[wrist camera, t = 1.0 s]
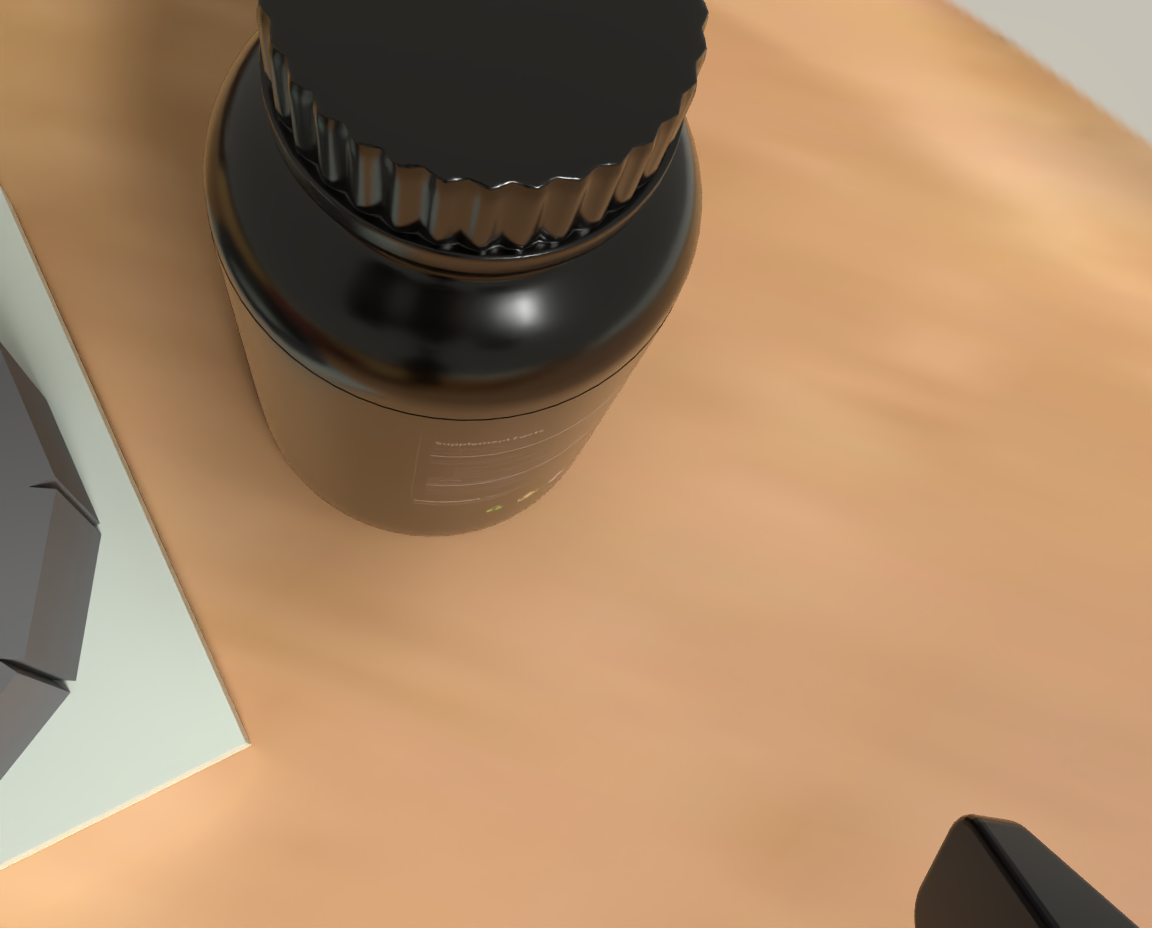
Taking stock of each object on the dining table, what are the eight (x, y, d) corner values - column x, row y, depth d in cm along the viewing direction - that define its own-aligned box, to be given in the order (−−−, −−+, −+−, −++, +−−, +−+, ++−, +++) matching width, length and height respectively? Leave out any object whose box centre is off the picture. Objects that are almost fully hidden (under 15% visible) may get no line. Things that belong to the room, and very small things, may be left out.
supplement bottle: (197, 323, 22) (20, -179, 11) (486, 191, 24) (589, -344, 13) (366, 612, 21) (362, 393, 10) (652, 449, 23) (924, 110, 12)
